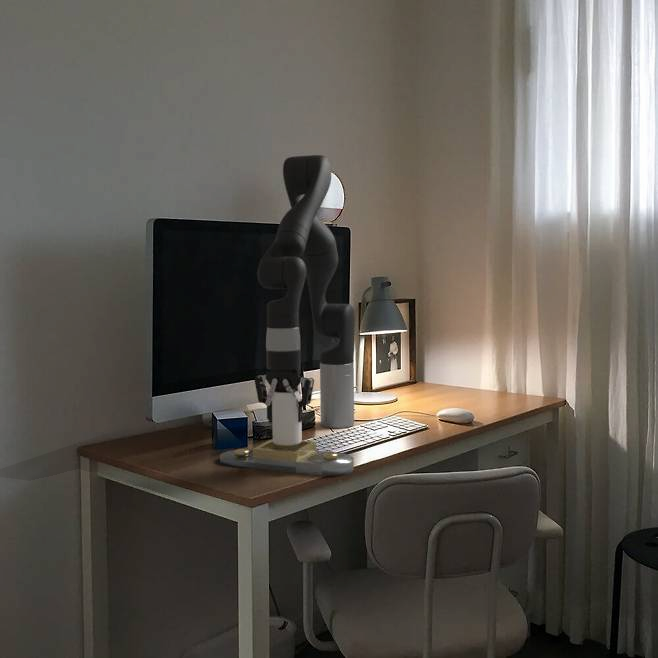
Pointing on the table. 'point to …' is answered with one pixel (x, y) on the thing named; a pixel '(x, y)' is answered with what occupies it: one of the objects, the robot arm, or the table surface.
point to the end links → (291, 459)
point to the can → (286, 419)
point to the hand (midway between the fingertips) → (284, 422)
